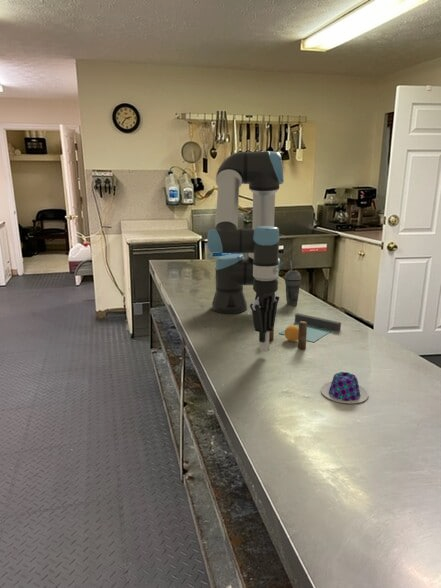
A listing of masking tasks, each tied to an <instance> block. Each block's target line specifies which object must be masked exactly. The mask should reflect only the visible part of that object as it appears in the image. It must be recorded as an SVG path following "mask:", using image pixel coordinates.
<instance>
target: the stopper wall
mask: <svg viewBox="0 0 441 588" xmlns="http://www.w3.org/2000/svg"><path fill="white" fill-rule="evenodd" d="M294 315H295V316H294V323H299V322H300V321H304V322H307V325H309V326H313V327H317V328H322V329H326V330H331V331H332V332H333V331H334V332H338V333H339V332H340V331H341V327H342V326H341V325H342V322H340V321H335V320H331V319H326V318H321V317H316V316H311V315H308V314H302V313H296V314H294Z"/></svg>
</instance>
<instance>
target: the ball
mask: <svg viewBox="0 0 441 588" xmlns="http://www.w3.org/2000/svg"><path fill="white" fill-rule="evenodd" d="M294 325H295V324H294ZM294 325H292V324H291V325H289V326H287V327H286V328H285V329H284V330H285V335H284V336H285V339H287V341H290V342H297V341H298V333H299V328H298V327H297V326H294Z"/></svg>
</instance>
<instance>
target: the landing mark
mask: <svg viewBox="0 0 441 588" xmlns="http://www.w3.org/2000/svg"><path fill="white" fill-rule="evenodd" d="M294 326H297V327H298V328H299V323H298V322H296V324H294ZM285 330H286V329H284V330H282V331H280V332H279V333H278V334H279V335H283V336H285ZM330 333H332V330H328V329H324V328H320V327H315V326H311V325H307V334H306V342H311V343H316V341H317V342H318V340H320V339H322V338H323V337H325V336H326V335H328V334H330Z"/></svg>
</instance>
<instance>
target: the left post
mask: <svg viewBox="0 0 441 588" xmlns="http://www.w3.org/2000/svg"><path fill="white" fill-rule="evenodd" d="M271 328H272V329H273V331H270V338H269V342H273V341H274V335H275V334H274V333H275V330H274V329H275V326H274V327H271Z"/></svg>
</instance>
